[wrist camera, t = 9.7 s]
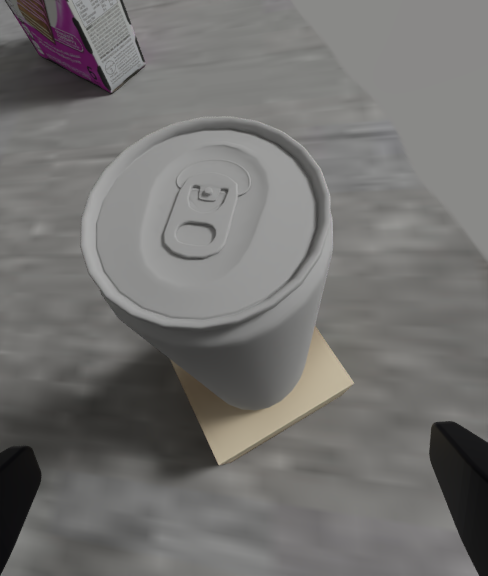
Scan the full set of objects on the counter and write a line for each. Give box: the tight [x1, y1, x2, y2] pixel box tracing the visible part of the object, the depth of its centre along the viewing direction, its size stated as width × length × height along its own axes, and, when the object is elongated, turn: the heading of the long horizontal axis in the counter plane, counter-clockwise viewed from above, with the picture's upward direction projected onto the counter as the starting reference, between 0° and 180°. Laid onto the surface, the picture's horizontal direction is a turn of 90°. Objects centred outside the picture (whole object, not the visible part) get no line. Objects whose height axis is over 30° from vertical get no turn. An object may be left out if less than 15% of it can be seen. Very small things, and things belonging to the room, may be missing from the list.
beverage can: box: [80, 116, 333, 410], centre depth 12 cm, size 5×5×12 cm
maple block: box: [170, 326, 354, 465], centre depth 19 cm, size 7×7×4 cm
